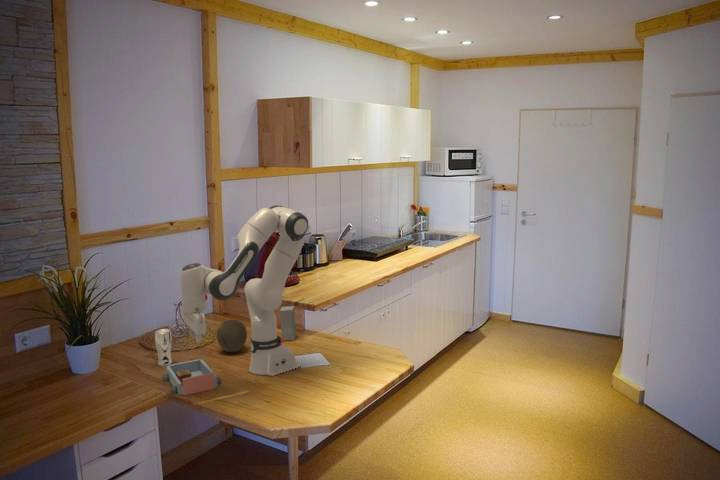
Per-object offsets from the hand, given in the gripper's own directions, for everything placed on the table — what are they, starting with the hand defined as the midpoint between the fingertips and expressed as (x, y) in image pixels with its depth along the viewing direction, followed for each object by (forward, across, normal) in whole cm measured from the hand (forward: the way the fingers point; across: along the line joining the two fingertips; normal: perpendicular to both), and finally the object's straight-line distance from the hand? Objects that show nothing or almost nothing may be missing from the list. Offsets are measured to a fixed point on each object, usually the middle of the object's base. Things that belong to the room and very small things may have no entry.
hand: (195, 339), depth 225 cm
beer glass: (+21, +37, +5) cm, 43 cm away
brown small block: (+20, +6, +4) cm, 21 cm away
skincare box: (+21, +39, -56) cm, 71 cm away
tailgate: (+20, -5, +1) cm, 21 cm away
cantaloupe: (+21, +36, -26) cm, 49 cm away
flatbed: (+21, +7, +1) cm, 22 cm away
